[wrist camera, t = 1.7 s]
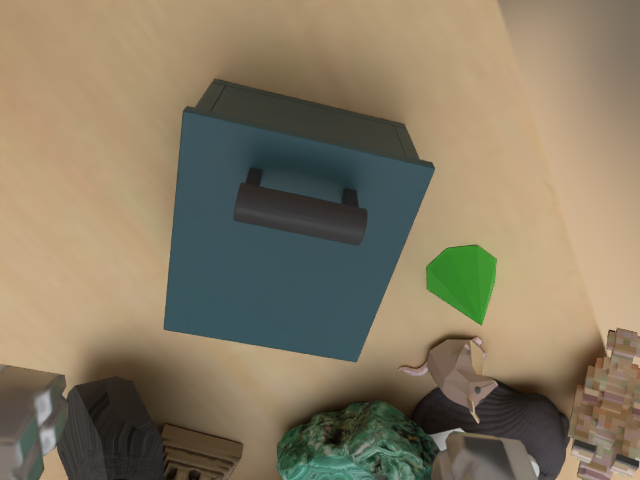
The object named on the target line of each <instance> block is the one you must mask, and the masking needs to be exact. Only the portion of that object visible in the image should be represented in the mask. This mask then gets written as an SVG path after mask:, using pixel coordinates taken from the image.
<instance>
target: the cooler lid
mask: <svg viewBox="0 0 640 480" xmlns="http://www.w3.org/2000/svg"><path fill="white" fill-rule="evenodd" d="M434 170H435V167H434V165H433V163H432V162H428V161H424V160H419V159H415V158H411V157H406V156H402V155H398V154H393V153H389V152H385V151H380V150H376V149H372V148H367V147H363V146H359V145H354V144H350V143H346V142H341V141H337V140H333V139H328V138H324V137H320V136H315V135H311V134H307V133H302V132H298V131H294V130H289V129H285V128H281V127H276V126H272V125H268V124H263V123H259V122H255V121H250V120H246V119H242V118H237V117H233V116H229V115H224V114H220V113H216V112H211V111H207V110H203V109H198V108H194V107H190V106H187V107H186V108H185V109H184V111H183V117H182V128H181V139H180V151H179V162H178V173H177V184H176V195H175V206H174V218H173V229H172V240H171V251H170V262H169V273H168V284H167V296H166V307H165V318H164V330H169V331H175V332H181V333H186V334H192V335H198V336H204V337H210V338H216V339H222V340H228V341H234V342H239V343H245V344H251V345H257V346H263V347H269V348H275V349H281V350H287V351H292V352H298V353H304V354H310V355H316V356H322V357H328V358H334V359H339V360H345V361H351V362H357V360H358V358H359V355H360V353H361V350H362V348H363V345H364V343H365V340H366V338H367V335H368V333H369V331H370V328H371V326H372V323H373V321H374V318H375V316H376V313H377V311H378V308H379V306H380V303H381V301H382V298H383V296H384V294H385V291H386V289H387V286H388V284H389V281H390V279H391V276H392V274H393V271H394V269H395V266H396V264H397V261H398V259H399V257H400V254H401V252H402V249H403V247H404V244H405V242H406V239H407V237H408V234H409V232H410V229H411V227H412V225H413V222H414V220H415V217H416V215H417V212H418V210H419V207H420V205H421V202H422V200H423V197H424V195H425V192H426V190H427V188H428V185H429V183H430V180H431V178H432V175H433V173H434Z"/></svg>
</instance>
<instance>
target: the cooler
mask: <svg viewBox="0 0 640 480" xmlns="http://www.w3.org/2000/svg"><path fill="white" fill-rule="evenodd" d="M195 108H198V109H203V110H207V111H211V112H216V113H220V114H224V115H229V116H233V117H237V118H242V119H246V120H250V121H255V122H259V123H263V124H268V125H272V126H276V127H281V128H285V129H289V130H294V131H298V132H302V133H307V134H311V135H315V136H320V137H324V138H328V139H333V140H337V141H341V142H346V143H350V144H354V145H359V146H363V147H367V148H372V149H376V150H380V151H385V152H389V153H393V154H398V155H402V156H406V157H411V158H415V159H419V156H418V154H417V152H416V149H415V147H414V145H413V142H412V140H411V138H410V135H409V133H408V131H407V129H406V126H405V125H404V124H401V123H397V122H393V121H389V120H384V119H380V118H376V117H372V116H368V115H364V114H359V113H355V112H351V111H347V110H343V109H339V108H334V107H330V106H326V105H322V104H318V103H314V102H309V101H305V100H301V99H297V98H293V97H289V96H284V95H280V94H276V93H272V92H268V91H264V90H259V89H255V88H251V87H247V86H243V85H239V84H234V83H230V82H226V81H222V80H218V79H214V80H213V82H212V83H211V85H210V86H209V88H208V89H207V91H206V92H205V93H204V95H203V96H202V98H201V99H200V101H199V102H198V104H197V105H196V107H195ZM419 160H420V159H419Z"/></svg>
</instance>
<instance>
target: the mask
mask: <svg viewBox="0 0 640 480" xmlns="http://www.w3.org/2000/svg"><path fill="white" fill-rule="evenodd" d="M67 401H68V415H67V421H66V424H65V427H64V430H63V433H62V436H61V438H60V440H59V442H58V444H57V451H58V454H59V456H60V459H61V461H62V464H63V466H64V469H65V471H66V474H67V476H68V480H165V479H164V464H163V449H162V437H161V435H160V433H159V431H158V430H157V428H156V426H155V424H154V423H153V421H152V419H151V417H150V415H149V414H148V412H147V410H146V408H145V406H144V404H143V402H142V400H141V398H140V396H139V394H138V392H137V390H136V388H135V386H134V384H133V382H132V381H129V380H125V379H122V378H119V377H112V378H108V379H103V380H98V381H94V382H89V383H85V384H80V385H76V386H74V387H73V388H72V389H71V391H70V392H69V393H68V396H67Z"/></svg>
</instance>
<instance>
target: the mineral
mask: <svg viewBox="0 0 640 480" xmlns="http://www.w3.org/2000/svg"><path fill="white" fill-rule="evenodd" d="M439 452H441V450H440V449H439V448H438V446H437V444H436V443H435V441H434V439H433V438H432V437H431V436H429V435H427V434H425V433H424V431H423V430H422V428H420V427H418V426H417V425H416V423H415V422H413V421H412V420H411V419H409V418H408V417H407V416H405V415H404V414H403V413H401V412H400V411H398V410H397V409H396V408H394V407H393V406H391V405H390V404H387V403H385V402H383V401H380V400H377V401H372V402H361V403H360V402H353V403H351V404H350V406H349V407H347V408H346V409H343V410H341V411H340V412H335V411H333V412H329V413H324V412H320V413H318V414H316V415H315V416H313V417H312V419H311V422H310V423H308V424H306V425H305V424H301V425H299V426H297V427H296V428H293V429H290V430H289V431H288V432H286V434H285V435H284V436H283V438H282V439H281V441H280V442H279V443H278V445H277V456H278V463H277V466H276V467H277V470H278V472H279V474H280V476H281V479H282V480H431V473H432V467H433V462H434V460H435V458H436V456H437V454H438V453H439Z"/></svg>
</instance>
